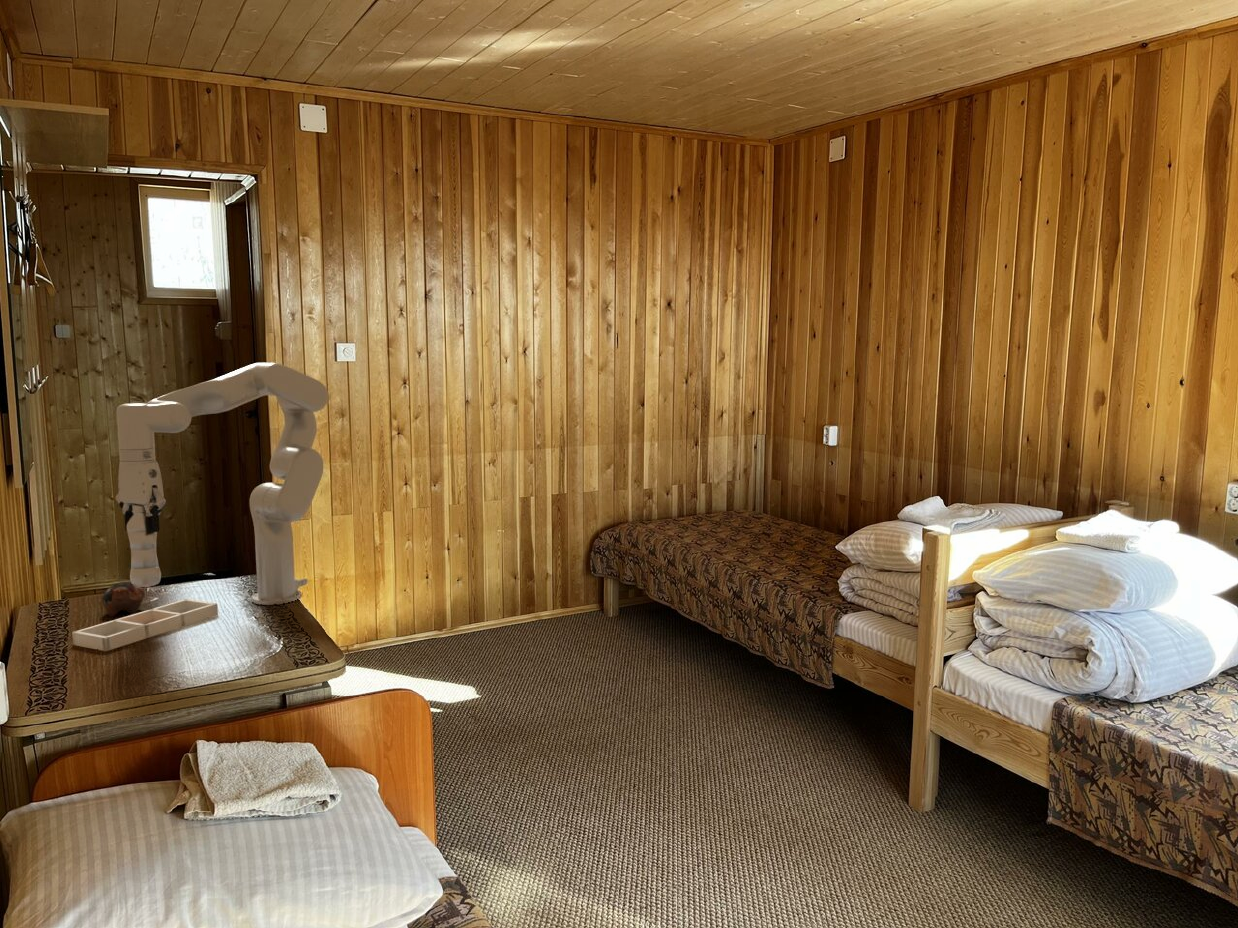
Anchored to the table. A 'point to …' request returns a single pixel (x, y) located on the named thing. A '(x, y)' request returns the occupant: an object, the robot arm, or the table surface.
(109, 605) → the decorative turtle
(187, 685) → the table surface
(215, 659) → the table surface
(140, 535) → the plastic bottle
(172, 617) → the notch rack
